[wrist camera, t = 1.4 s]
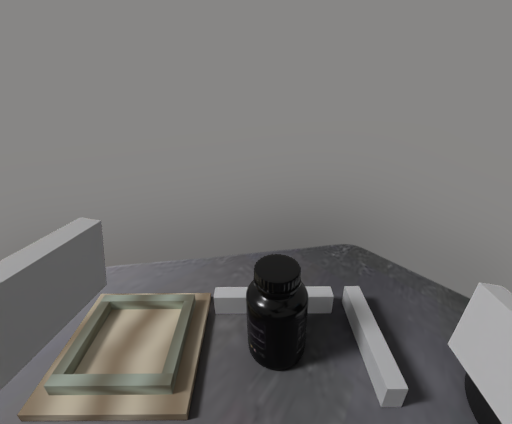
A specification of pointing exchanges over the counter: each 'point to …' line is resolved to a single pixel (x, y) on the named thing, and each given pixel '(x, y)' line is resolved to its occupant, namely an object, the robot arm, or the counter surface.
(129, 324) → the seating station
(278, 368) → the supplement bottle
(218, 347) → the counter surface
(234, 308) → the bracket
